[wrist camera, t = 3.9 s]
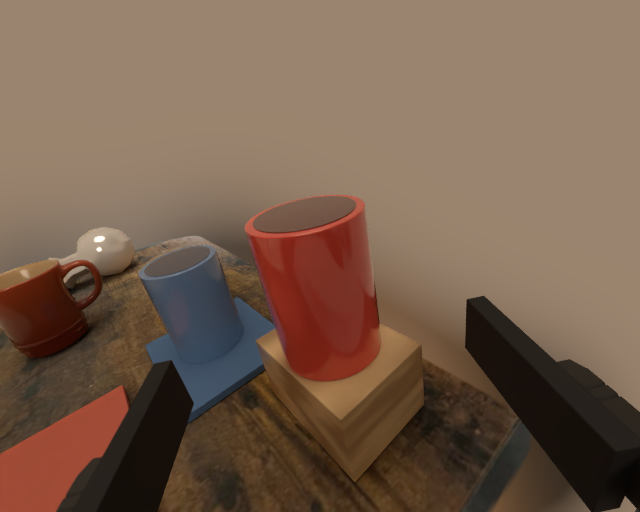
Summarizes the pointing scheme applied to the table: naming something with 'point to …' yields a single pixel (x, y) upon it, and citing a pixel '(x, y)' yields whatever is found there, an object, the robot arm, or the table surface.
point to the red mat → (58, 455)
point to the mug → (44, 307)
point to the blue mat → (218, 363)
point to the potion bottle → (100, 253)
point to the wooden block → (353, 399)
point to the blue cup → (194, 302)
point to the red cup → (319, 284)
